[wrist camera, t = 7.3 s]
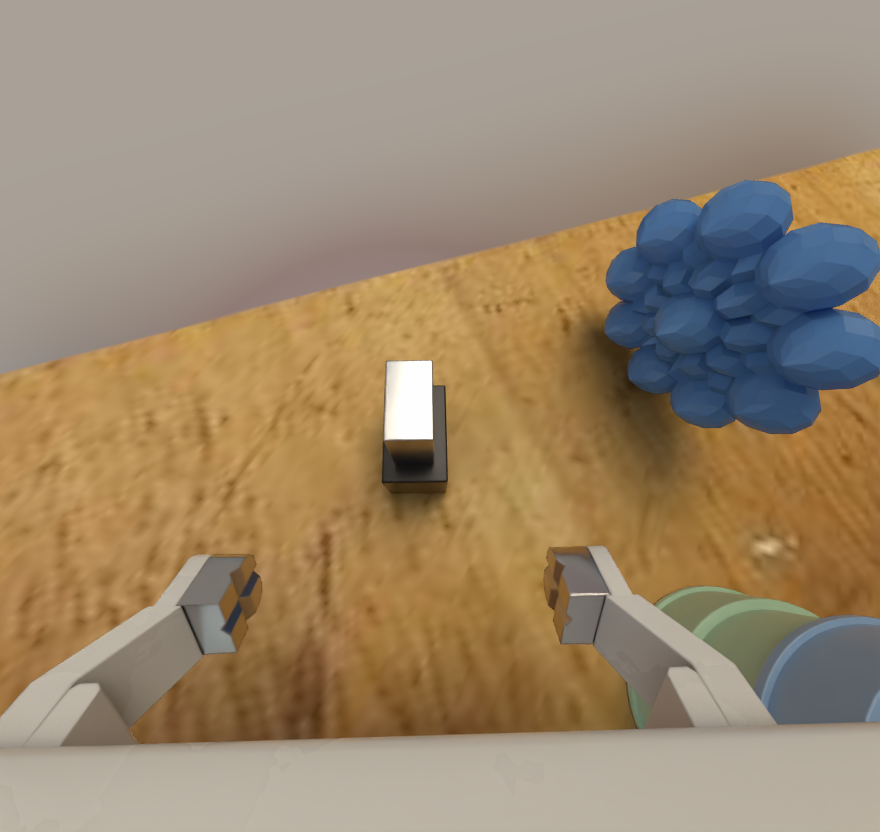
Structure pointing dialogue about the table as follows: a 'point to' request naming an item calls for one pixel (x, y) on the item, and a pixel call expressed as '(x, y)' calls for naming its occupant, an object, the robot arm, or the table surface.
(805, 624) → the cup stack
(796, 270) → the grapes
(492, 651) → the table surface
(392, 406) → the silver and black block
